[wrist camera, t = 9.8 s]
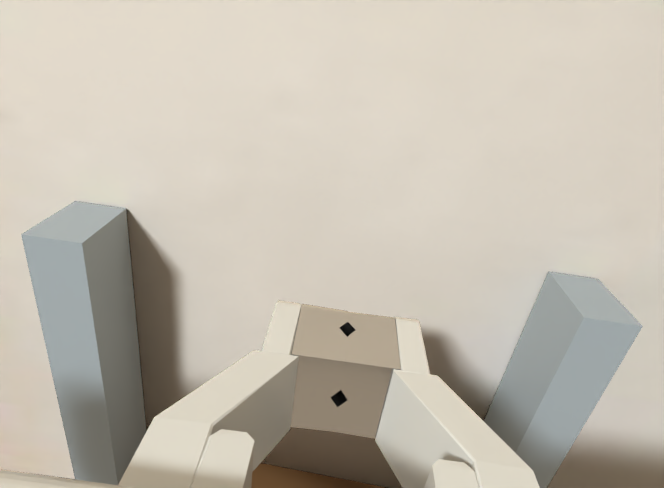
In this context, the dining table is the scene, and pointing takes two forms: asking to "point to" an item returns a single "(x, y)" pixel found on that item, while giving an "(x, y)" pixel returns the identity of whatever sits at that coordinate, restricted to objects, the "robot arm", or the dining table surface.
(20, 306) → the dining table surface
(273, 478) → the tan cardboard slab
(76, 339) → the grey u-shaped frame
